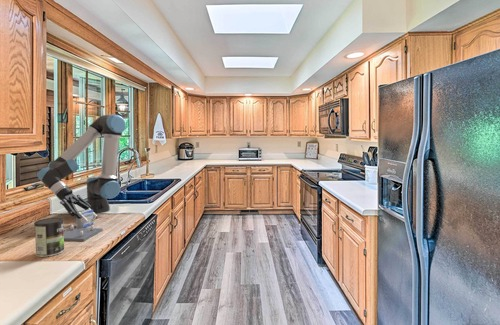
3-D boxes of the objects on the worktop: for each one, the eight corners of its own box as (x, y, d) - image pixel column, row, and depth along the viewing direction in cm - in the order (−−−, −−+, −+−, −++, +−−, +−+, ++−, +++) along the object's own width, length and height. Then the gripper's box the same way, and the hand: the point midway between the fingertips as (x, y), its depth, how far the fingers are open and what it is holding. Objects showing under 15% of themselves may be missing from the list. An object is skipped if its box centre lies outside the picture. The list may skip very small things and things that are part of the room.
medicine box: (83, 228, 159) (82, 213, 158) (76, 227, 159) (75, 212, 159) (93, 224, 166) (93, 209, 166) (87, 223, 167) (86, 209, 166)
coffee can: (67, 247, 132) (66, 216, 131) (60, 255, 122) (58, 223, 121) (41, 249, 129) (39, 218, 128) (31, 258, 119) (29, 224, 118)
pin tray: (70, 229, 156) (69, 223, 156) (102, 230, 155) (102, 223, 155) (48, 240, 140) (47, 232, 140) (84, 241, 139) (83, 233, 139)
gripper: (70, 192, 173) (97, 219, 173) (43, 199, 152) (74, 230, 152) (78, 183, 172) (105, 210, 173) (52, 189, 151) (83, 220, 152)
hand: (90, 219), depth 162 cm, fingers closed on medicine box, 8 cm apart
